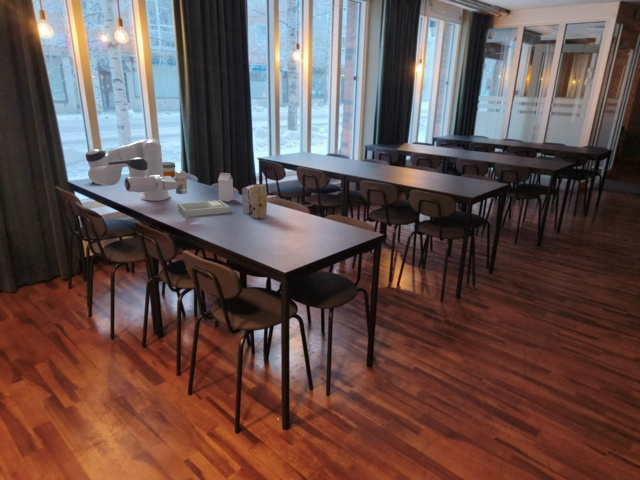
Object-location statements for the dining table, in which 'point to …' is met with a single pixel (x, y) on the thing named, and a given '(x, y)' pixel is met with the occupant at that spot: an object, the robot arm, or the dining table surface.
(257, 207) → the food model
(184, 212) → the pale green tray
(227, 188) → the milk carton
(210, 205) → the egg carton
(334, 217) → the dining table surface
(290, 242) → the dining table surface
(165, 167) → the reusable coffee cup
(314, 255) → the dining table surface
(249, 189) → the candy bar box
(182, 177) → the glass jar
